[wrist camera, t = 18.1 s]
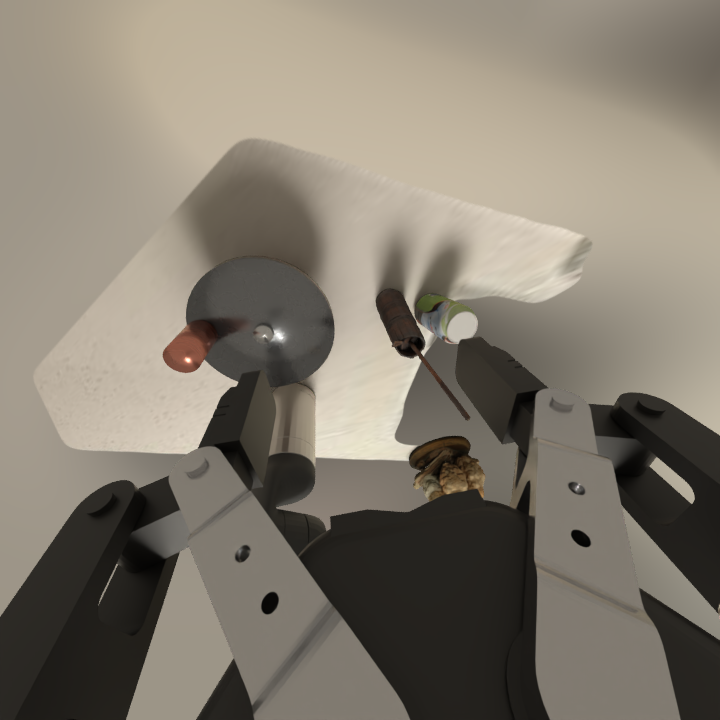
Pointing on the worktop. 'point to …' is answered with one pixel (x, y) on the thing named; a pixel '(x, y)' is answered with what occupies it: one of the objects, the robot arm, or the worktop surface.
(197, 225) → the worktop surface
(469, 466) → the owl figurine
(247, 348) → the grey disc with knob
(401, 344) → the butter churn
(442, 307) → the beverage can
